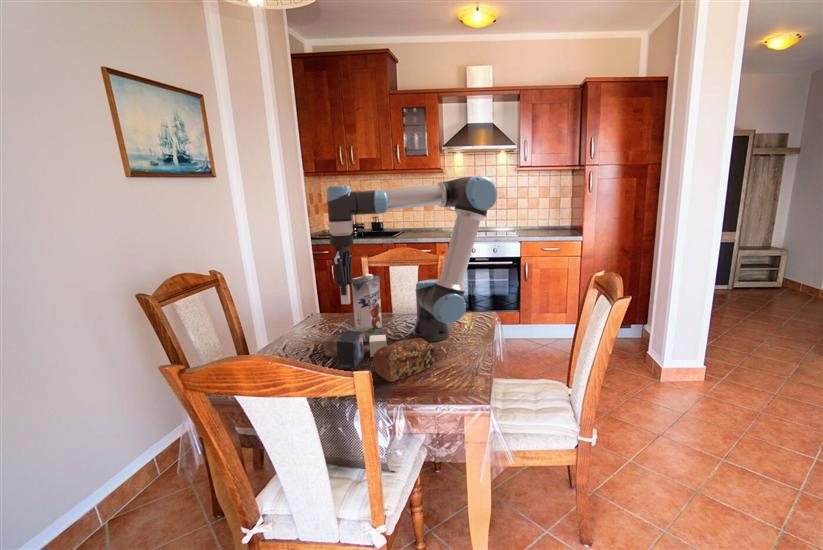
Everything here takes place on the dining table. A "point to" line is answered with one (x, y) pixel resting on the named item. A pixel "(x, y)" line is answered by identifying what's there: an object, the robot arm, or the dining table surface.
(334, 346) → the walnut block
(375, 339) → the cream block
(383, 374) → the bread
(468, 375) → the dining table surface
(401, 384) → the dining table surface
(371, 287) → the juice carton
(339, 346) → the small box
